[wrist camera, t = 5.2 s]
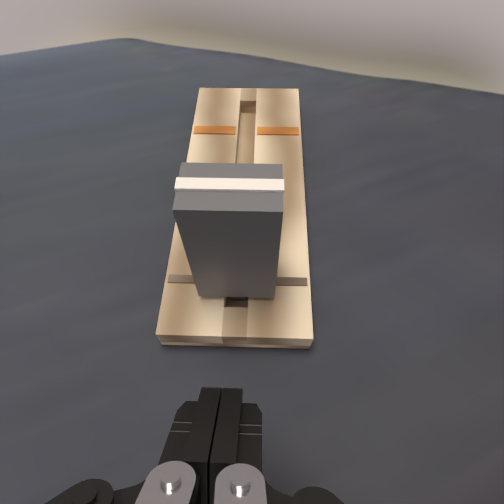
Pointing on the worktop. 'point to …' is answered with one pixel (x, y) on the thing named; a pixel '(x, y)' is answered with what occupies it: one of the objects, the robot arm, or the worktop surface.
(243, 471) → the robot arm
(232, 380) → the worktop surface
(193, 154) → the fader board
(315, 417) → the worktop surface
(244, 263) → the fader knob
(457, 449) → the worktop surface
